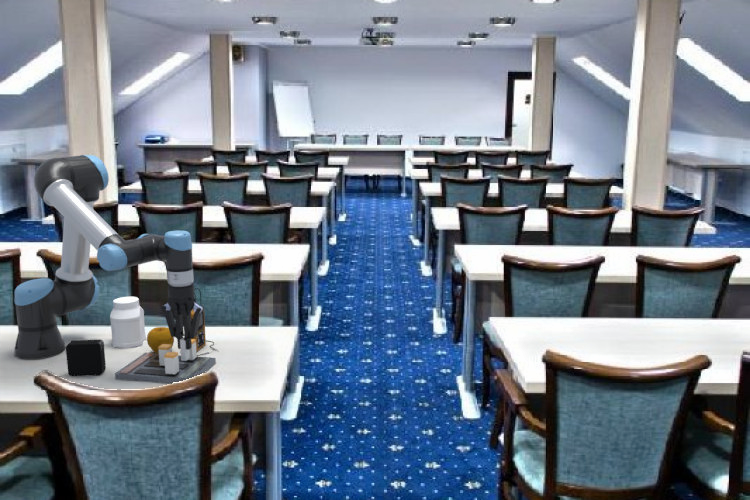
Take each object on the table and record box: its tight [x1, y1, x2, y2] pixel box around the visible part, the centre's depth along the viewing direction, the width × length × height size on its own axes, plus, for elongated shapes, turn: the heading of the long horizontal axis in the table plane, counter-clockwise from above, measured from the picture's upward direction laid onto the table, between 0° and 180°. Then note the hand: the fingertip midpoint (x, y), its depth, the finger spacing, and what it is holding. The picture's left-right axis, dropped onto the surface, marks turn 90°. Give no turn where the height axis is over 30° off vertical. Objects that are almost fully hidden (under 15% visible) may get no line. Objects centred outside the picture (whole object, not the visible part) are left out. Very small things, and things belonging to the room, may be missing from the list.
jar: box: [109, 296, 147, 349], centre depth 256 cm, size 12×10×15 cm
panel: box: [114, 352, 217, 384], centre depth 232 cm, size 24×18×2 cm
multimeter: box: [191, 287, 220, 357], centre depth 249 cm, size 15×10×20 cm
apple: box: [146, 326, 175, 354], centre depth 246 cm, size 8×8×9 cm
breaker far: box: [188, 339, 198, 360], centre depth 235 cm, size 3×3×6 cm
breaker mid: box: [158, 344, 173, 366], centre depth 231 cm, size 3×3×6 cm
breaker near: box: [164, 351, 179, 374], centre depth 224 cm, size 3×3×6 cm
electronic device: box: [65, 339, 107, 377], centre depth 229 cm, size 4×10×10 cm, turn 95°
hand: (185, 359), depth 230 cm, fingers closed
